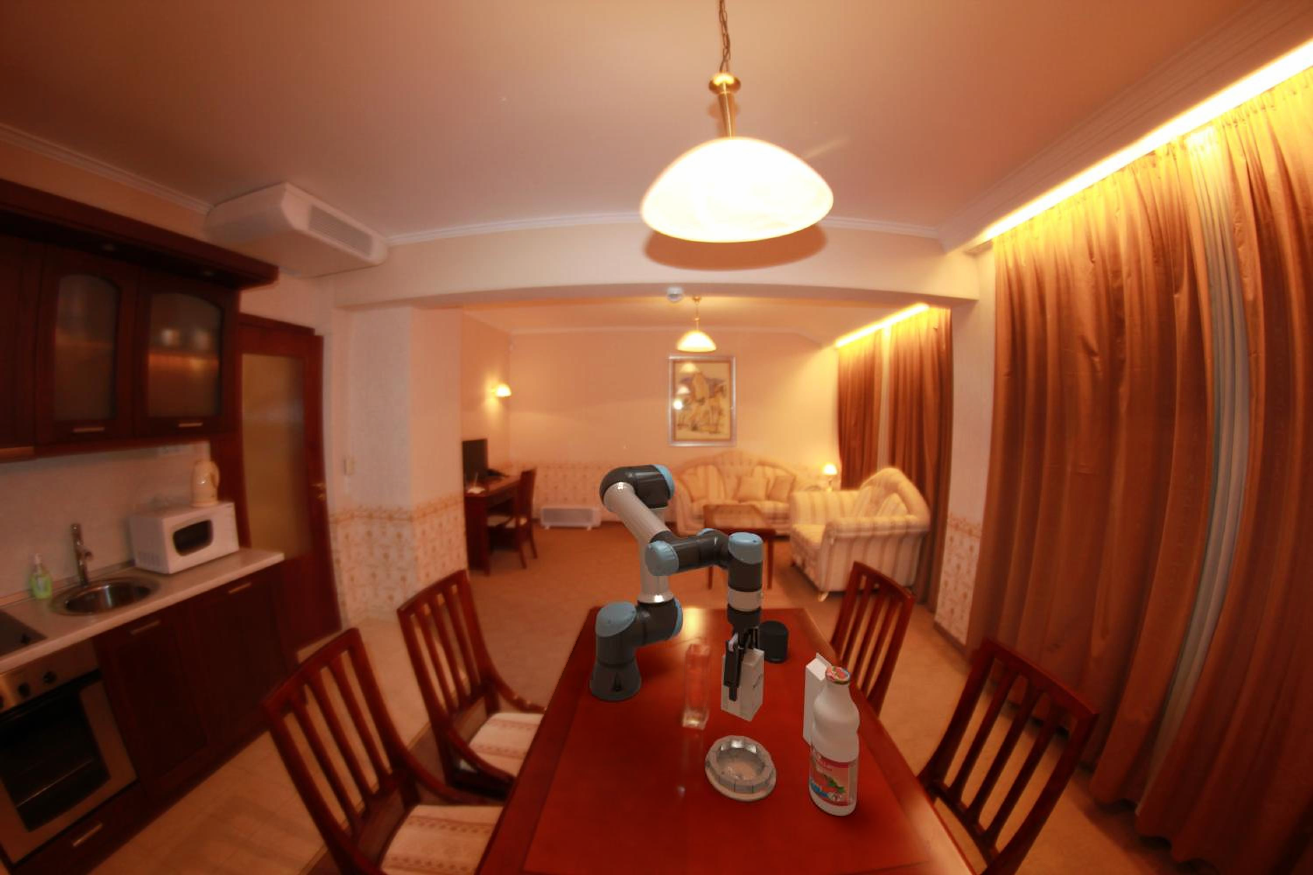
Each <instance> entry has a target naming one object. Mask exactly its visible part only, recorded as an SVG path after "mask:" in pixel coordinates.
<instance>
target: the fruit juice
mask: <svg viewBox="0 0 1313 875" xmlns="http://www.w3.org/2000/svg"><path fill="white" fill-rule="evenodd" d="M825 679H826V683H825V685H824V688H823V690H822V692H821V693H820V694H819V695H818V696H817V697H816V699H815V701H814V704H813V714H814V718H815V721H814V723H813V725H812V731H811V746H810V756H809V778H808V780H809V782H808V783H809V784H808V788H809V793H810V796H811V798H812V801H813V802H814V803H815V804H816V805H817V806H818V807H819V808H820V809H821V810H822V811H824V812H826V813H828V814H830V815H834V816H840V817H844V816H847V815H849V814H852V812H853V811H854V810H855V808H856V804H857V796H858V795H857V792H858V773H859V772H858V770H859V754H860V742H859V741H860V740H859V735H858V732H857V731H858V729H859V726H860V712H859V710H858V707H857V705H856V704H855V702H854V701H853V700H852V697H851V694H850V688H849V685H850V684H851V674H850V673H849V671H848V670H846V669H844V668H842V667H840V666H834V665H832V666H831V667H828V668H827V669H826V670H825Z"/></svg>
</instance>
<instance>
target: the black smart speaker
mask: <svg viewBox="0 0 1313 875" xmlns="http://www.w3.org/2000/svg"><path fill="white" fill-rule="evenodd" d="M759 634H760V650H761V651H764V661H767V662H769V663H771V664H781V663H783V662H785V661H786V660H787V657H788V650H789V649H788V648H789V636H790V635H789V634H790V630H789V629H788V628H787V626H786V625H785V623H783V622H781V621H778V620H773V619H771V620H770V619H769V620H764V621H763V620H762V621H761V623H760V628H759Z"/></svg>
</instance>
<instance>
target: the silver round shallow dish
mask: <svg viewBox="0 0 1313 875" xmlns="http://www.w3.org/2000/svg"><path fill="white" fill-rule="evenodd" d="M704 761H705V762H704V771H705V775H706V777H707V780H708V782H709V783H710V784H711V786H712V787H713V788H714V789H715V790H716V791H717V792H718V793H720V794H722V795H723V796H724V797H727V798H729V799H731V800H734V801H737V802H747V803H748V802H749V803H750V802H751V803H752V802H756V801H760V800H762V799H764V798H767V796H769V795H770V794H771V793H772V791H773V790H774V788H775V786H776V782H777V770H776V767H775V766H776V765H775V764H774V762H773V760H772V756H771V755H770V752H769V751H768V750H766V749H765V747H764V746H763V745H762V744H761V743H759V742H758V741H756V740H754V739H752V738H750V737H747V736H744V735H732V734H731V735H726V736H723V737H721V738H719V739H717V740H715V741H714V743H713V744H712V746H711V747H710V748H709V751H708V752H707V754H706V757H705V759H704Z"/></svg>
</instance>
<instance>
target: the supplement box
mask: <svg viewBox="0 0 1313 875" xmlns="http://www.w3.org/2000/svg"><path fill="white" fill-rule="evenodd" d="M739 648H740V647H739ZM740 649H743V648H740ZM725 656H726V652H724V654H723V655H722V656H721V658H722V659H721V689H720V690H721V694H720V695H721V697H720V710H722V711H725V712H727V713H729V714H731V715H734V716H736V717H738V718H740V719H743V720H745V721H748V722H752V720H753V718H754V716H755V715H756V713H757V712H758V710H759V709H760V707H761V706H762V705H763V697H764V694H763V693H764V664H765V663H764V662H765V660H764V651H761V650H758V649H755V648H754V649H753V650H751V649H747V653H746V654H745V655H744V660H743V662H742V667H741V678H740V685H741V714H740V715H737V714H734V713H732V712H730V711H728V687H726V686H724V685H723V681H724V669H725Z"/></svg>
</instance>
